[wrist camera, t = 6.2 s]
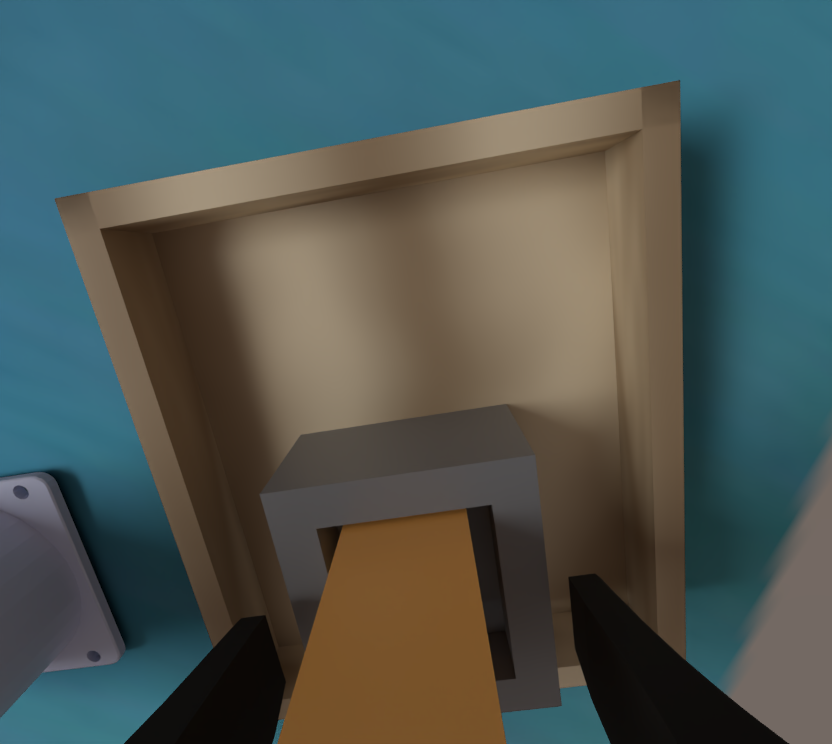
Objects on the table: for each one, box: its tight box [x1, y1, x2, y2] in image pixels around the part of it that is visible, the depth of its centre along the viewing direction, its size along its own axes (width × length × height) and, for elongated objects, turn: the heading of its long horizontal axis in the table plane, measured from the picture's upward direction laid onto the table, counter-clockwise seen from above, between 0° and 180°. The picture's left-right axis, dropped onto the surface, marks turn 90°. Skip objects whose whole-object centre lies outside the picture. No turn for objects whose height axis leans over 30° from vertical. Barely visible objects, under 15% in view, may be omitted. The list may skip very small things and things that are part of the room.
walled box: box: [55, 80, 686, 720], centre depth 13 cm, size 14×16×3 cm
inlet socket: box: [260, 404, 562, 713], centre depth 12 cm, size 6×7×4 cm
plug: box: [278, 508, 506, 744], centre depth 8 cm, size 3×4×8 cm
